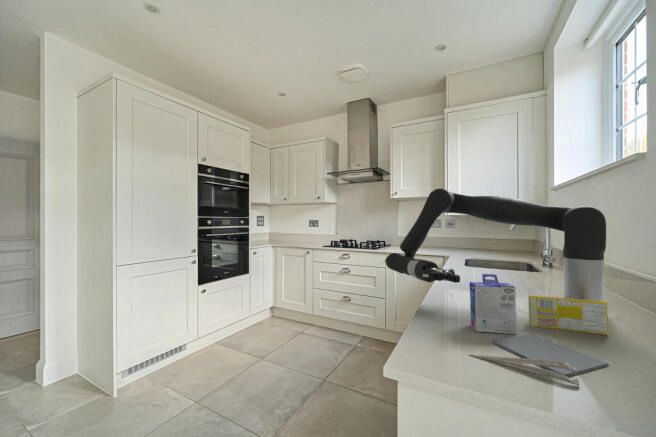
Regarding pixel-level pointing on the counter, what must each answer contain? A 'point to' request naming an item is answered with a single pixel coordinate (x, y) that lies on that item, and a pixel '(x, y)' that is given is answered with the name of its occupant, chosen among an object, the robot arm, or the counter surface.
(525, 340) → the mat
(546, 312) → the candy box
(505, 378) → the counter surface
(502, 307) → the ink cartridge box
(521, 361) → the animal jaw bone
